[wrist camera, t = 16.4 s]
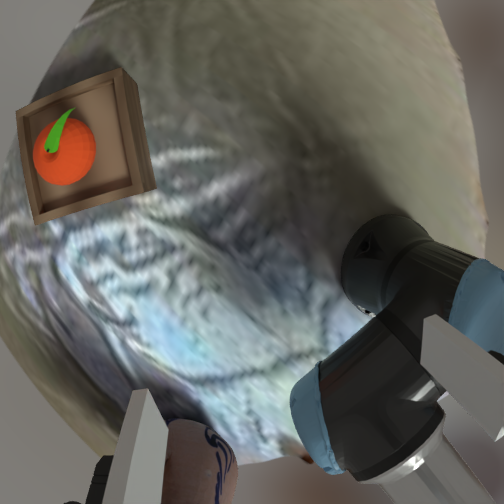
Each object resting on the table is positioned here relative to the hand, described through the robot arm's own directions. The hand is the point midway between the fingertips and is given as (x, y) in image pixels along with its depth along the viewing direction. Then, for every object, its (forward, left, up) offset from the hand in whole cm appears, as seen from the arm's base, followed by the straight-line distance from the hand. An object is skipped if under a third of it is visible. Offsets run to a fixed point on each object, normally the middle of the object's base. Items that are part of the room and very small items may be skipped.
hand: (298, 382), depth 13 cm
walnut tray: (+16, -16, -29) cm, 37 cm away
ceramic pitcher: (+18, +30, -29) cm, 45 cm away
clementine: (+16, -16, -23) cm, 32 cm away
